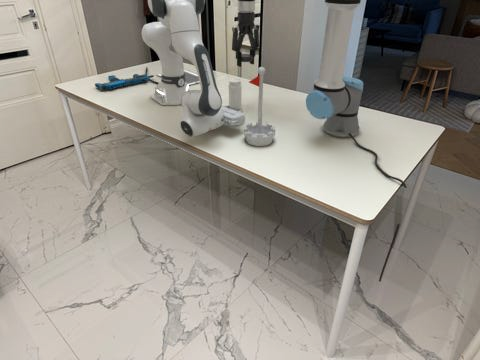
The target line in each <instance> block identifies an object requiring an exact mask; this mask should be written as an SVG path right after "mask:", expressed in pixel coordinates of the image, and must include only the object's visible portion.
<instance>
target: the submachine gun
mask: <svg viewBox="0 0 480 360" xmlns="http://www.w3.org/2000/svg"><path fill="white" fill-rule="evenodd" d="M107 77H108V80H109V82H103V83H100V82H96V83H94V86H95V88H97V89H98V90H100V91H107V90H113V91H114V90H115V89H116V88H120V87H125V86H129V85H134V84H138V83H139V84H140V83H145V82H146V83H147V81H150V80H149V78H150V79H151V78H154V77H155V76H154V74H151V75H148V74H147V75H145V73H144V74H138V73H134V74H133V75H132V77H129V78H121V79H120V78H118V77H117V76H116V75H113V74H112V75H108V76H107Z"/></svg>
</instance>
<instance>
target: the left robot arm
mask: <svg viewBox="0 0 480 360" xmlns="http://www.w3.org/2000/svg"><path fill="white" fill-rule="evenodd" d="M205 4H206V0H147V5H148V8H149V11H150V12H151V14H152V15H153V16H154V17H157V18H158V21H152V22H149V23H146V24H144V25H143V27H142V28H141V38H142V41H143V42H144V44H145V45H146V46H148V47H149V48H151V50H153V51H154V52H155V53H156V55H157V56H158V58H159V62H160V66H161V72H162V73H160V74H161V75H162V76H159V78H161V79H160V82H158V81H155V80H153V79H151V78H149V80H148V81H150V82H152V83H154V84H157V85H155V87H154V94H152V95H151V96H150V97H151V99H152V100H154V101H155V102H157V103H158V104H160V105H161V106H180V105H181V108H182V117H181V120H180V123H179V124H180V128H181V130H182V132H183V133H184V134H185V135H187V136H188V137H197V136H200V135H204V134H206V133H208V132H209V131H213V130H215V129H218V128H221V127H222V126H223V125H224V123H225V124H227V125H229V126H234V125H237V124H240V123H241V124H243V123H245V121H246V114H245V112H244V109H242V108H241V109H239V110H238V111H236V110H233V109H230V108H229V104H228V105H223V100H222V95H221V92H220V91H219V89H218V85H217V82H216V78H215V74H214V70H213V66H212V65H213V64H212V60H211V58H210V54H209V51H208V49H207V48H206V46H205V45H204V43H203V40H202V36H201V30H200V24H199V19H198V15H200V14H202V13H203V12H204V10H205ZM170 47H173V49H174V51H175V52H174V51H172V50H170ZM183 58H184V59H186V60H188V61H189V62H190V63H192V64H193V66H194V67H195V69H196V74H197V75H198V78H199V82H200V83H199V86H200V89H192V90H191V89H190V90H189V87H190V85H189V86H187V83H186V82H185V81H186V76H185V73H184V70H185V66H184V59H183ZM144 74H145V75H147V76H148V67H145V73H144ZM241 124H240V125H241ZM237 126H238V125H237Z"/></svg>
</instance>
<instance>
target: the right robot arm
mask: <svg viewBox="0 0 480 360" xmlns="http://www.w3.org/2000/svg"><path fill="white" fill-rule="evenodd" d="M324 4H325V5H326V6H327V16H326V23H325V30H324V39H323V44H322V45H323V46H322V52H321V59H320V66H319V72H318V73H319V74H318V77H317V78H316V79H315V80H314V81H313V88H312V90H311V91H310V92H309V93H308V94H307V95H306V98H305V106H306V109H307V111H308V112H309V114H310V115H311V116H312V117H313V118H315V119H317V120H325V121H324V123H323V126H322V130H323V132H324V133H325V134H326V135H329V136H332V137H335V138H339V139H341V138H342V139H349V138H351V139H352V140H353V142H354V143H355V144H356V145H357V147H359V148H360V149H362V150H365V151H367V152H370V153H371V154H373V155H374V157H375V159H374V164H375V166H376V168H377V169H378V170H379V172H381V173H382V174H383V175H384V176H385V177H387V178H389V179H392V180H395V181H397V182H399V183H400V184H402V186H403V188H405V189H407V188H408V187H407V184H406V183H405V182H404V180H402V179H400V178H399V177H396V176H393V175H390V174H388V173H387V172H386V171H384V170H383V169H382V168H381V167H380V166H379V164H378V159H379V158H378V157H379V156H378V154H377V152H375V151H373V150H372V149H370V148H367V147H365V146H363V145H361V144H359V143H358V141H357V139H356V138H355V137H356V136H357V135H359V132H360V125H359V118H358V117H359V116H358V114H359V111H360V110H359V109H360V105H361V101H362V95H363V92H364V82H363V80H362V79H359V78H355V77H351V76H344V70H345V66H346V65H345V64H346V58H347V53H348V47H349V42H350V38H351V37H350V36H351V30H352V26H353V20H354V14H355V10H356V8H357V7H359V6H360V5H361V0H324ZM237 11H238V12H237V26H235V27H234V26H232V28H231V31H232V40H231V50H232V51H233V52H235V60H236V66H237V67H239V68H242V62H241V56H242V54H243V53H242V51H241V50H242V46H243V43H244V38H245V37H246V35H247V37H248V41H249V44H250V49H249V54H252V55H253V61H251V62H249V64H251V65H255V57H256V53H257V51H258V49H259V48H260V25H259V24H256V23H255V21H256V20H255V19H256V16H255V15H256V13H255V11H256V0H237ZM400 226H401V223H398V224H397V225H396V227H395V231H394V234H393V237H392V241H391V243H390V246H389V249H388V252H387V254H386V257H385V261H384V263H383V265H382V266H383V267H382V269H381V273H380V275H379V278H378V282H382V278H383V275H384V272H385V269H386V266H387V264H388V261H389V257H390V255H391V252H392V250H393V247H394V244H395V241H396V237H397V234H398V231H399V228H400Z"/></svg>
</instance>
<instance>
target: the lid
mask: <svg viewBox="0 0 480 360" xmlns="http://www.w3.org/2000/svg"><path fill="white" fill-rule="evenodd" d="M251 61H253V55H252V54H250V53H242V56H241V63H250V62H251Z"/></svg>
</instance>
